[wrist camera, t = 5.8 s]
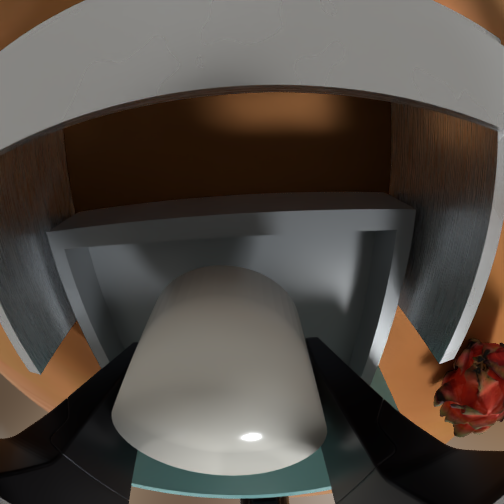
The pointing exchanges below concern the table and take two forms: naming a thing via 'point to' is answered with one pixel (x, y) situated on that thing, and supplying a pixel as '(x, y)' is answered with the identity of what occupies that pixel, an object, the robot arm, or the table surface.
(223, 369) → the grey rounded tapered piece
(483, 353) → the dragon fruit
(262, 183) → the table surface
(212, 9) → the dock
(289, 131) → the table surface
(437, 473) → the robot arm
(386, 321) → the drawer
